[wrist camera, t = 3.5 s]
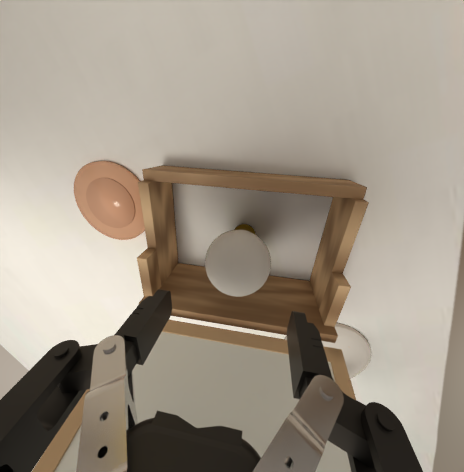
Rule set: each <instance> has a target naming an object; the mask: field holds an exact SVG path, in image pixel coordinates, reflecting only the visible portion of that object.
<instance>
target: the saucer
mask: <svg viewBox="0 0 464 472" xmlns="http://www.w3.org/2000/svg"><path fill="white" fill-rule="evenodd" d="M138 182H140V181H139V179H138V178H137V177H136V176H135V175H134V174H133V173H132V172H130V171H129V170H128V169H126V168H124V167H123V166H121V165H119V164H116V163H113V162H108V161H98V162H92V163H89V164H87V165H85V166H84V167H82V168H81V169H80V171H79V172H78V174H77V176H76V178H75V182H74V195H75V199H76V202H77V205H78V207H79V209H80V211H81V213H82V215H83V216H84V217H85V219H86V220H87V221H88V222H89V223H90V224H91V225H92V226H93V227H94V228H95V229H96V230H98V231H99V232H101V233H102V234H104V235H106V236H108V237H111V238H114V239H119V240H127V239H132V238H135V237H137V236H138V235H140V234H141V233H142V232H144V231H145V226H144V219H143V213H142V206H141V200H140V193H139V187H138Z"/></svg>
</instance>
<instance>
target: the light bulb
mask: <svg viewBox="0 0 464 472" xmlns="http://www.w3.org/2000/svg"><path fill="white" fill-rule="evenodd" d="M205 268H206V272H207V276H208V278H209V280H210V281H211V283H212V284H213V285H214V286H215V288H217V289H218V290H219V291H221V292H222V293H224V294H227V295H230V296H236V297H241V296H247V295H250V294H252V293H254V292H256V291H257V290H259V289H260V288H261V287H262V286H263V285H264V283H265V282H266V280H267V278H268V276H269V273H270V270H271V258H270V253H269V250H268V248H267V247H266V245H265V243H264V242H263V241H262V240H261V239H260V238H259V237H258V236H256V235H255V231H254V229H253V228H252V227H251V226H249V225H247V224H241V225H239V226H237V227H236V228H235V230H232V231H228V232H225V233H223V234H221V235H220V236H218V237H217V238H216V239H215V240H214V241H213V242H212V244H211V245H210V247H209V249H208V251H207V254H206V258H205Z"/></svg>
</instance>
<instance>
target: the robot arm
mask: <svg viewBox="0 0 464 472" xmlns="http://www.w3.org/2000/svg"><path fill="white" fill-rule="evenodd" d="M171 313H172V300H171V292H170V291H167V290H161V289H158V290H157V291H156V293H155V294H154V295H153V296H148V297H147V298H145V299H144V300H142V301H141V303H140V304H139V305H138V306H137V308H136V309H135V310H134V311H133V313H132V314H131V315H130V316H129V318H128V319H127V320H126V321H125V323H124V324H123V325H122V326H121V328H120V329H119V330H118V331H117V333H116V334H115V335H114V336H110V337H107V338H105V339H104V340H102V341H101V342H100V343H99V344H96V345H89V346H81V347H80V346H79V344H78V342H77V341H75V340H68V341H64V342H61V343H59V344H57V345H56V346H54V347H53V348H52V349H50V350H49V351H48V352H47V353H46V354H45V355H44V356H43V357H42V358H41V359H40V360H39V361H38V362H37V363H36V364H35V365H34V367H33V368H32V369H31V370H30V371H29V372H28V373H27V374H26V375H25V376H24V377H23V378H22V379H21V380H20V381H19V382H18V383H17V384H16V385H15V386H14V387H13V388H12V389H11V390H10V391H9V392H8V393H7V394H6V395H5V396H4V397H3V398H2V399H1V400H0V472H31V471H32V469H33V468H34V466H35V465H36V463H37V462H38V461H39V459H40V457H41V456H42V455H43V453H44V452H45V450H46V449H47V447H48V446H49V444H50V443H51V441H52V440H53V438H54V437H55V435H56V434H57V433H58V431H59V430H60V428H61V427H62V425H63V424H64V422H65V421H66V419H67V418H68V416H69V415H70V413H71V412H72V410H73V409H74V407H75V406H76V405H77V403H78V402H79V400H80V399H81V397H82V396H83V394H84V393H85V391H86V390H88V389H90V391H88V392H87V393H86V395H85V400H84V408H83V416H82V425H81V434H80V442H79V451H78V459H77V468H76V472H315V471H316V469H317V466H318V464H319V462H320V459H321V457H322V455H323V452H324V449H325V445H326V443H327V440H328V441H329V442H331V443H333V444H334V445H336V446H337V447H339V448H340V449H342V450H343V451H345V452H347V455H348V459H349V464H350V468H351V472H423V471H422V468H421V466H420V464H419V462H418V459H417V457H416V455H415V453H414V450H413V448H412V446H411V443H410V441H409V439H408V437H407V434H406V432H405V430H404V428H403V426H402V424H401V422H400V421H399V419H398V418H397V417H396V416H395V414H394V413H393V412H391V411H390V410H389V409H388V408H387V407H385V406H383V405H381V404H379V403H375V402H371V403H369V404H367V406H366V405H364V404H362V403H360V402H358V401H356V400H354V399H353V398H351V397H349V396H347V395H346V394H345V393H343V392H342V391H341V389H340V387H339V386H338V385H337V384H336V383H335V382H334V380H333V378H332V375H331V371H330V368H329V364H328V361H327V357H326V354H325V350H324V348H323V343H322V341H321V336H320V333H319V331H318V329H317V328H316V326H315V325H314V323H308V322H307V319H306V315H305V313H303V312H296V311H292V312H291V316H290V320H289V323H288V327H287V344H288V353H289V362H290V371H291V380H292V389H293V398H296V399H300V400H299V402H298V403H297V405H296V406H295V408H294V410H293V411H292V412H291V413H290V414H289V415H288V416H287V418H286V419H285V421H284V423H283V424H282V426H281V427H280V429H279V431H278V432H277V434H276V435H275V437H274V438H273V440H272V442H271V443H270V445H269V446H268V448H267V450H266V451H265V453H264V454H263V456H262V458H261V457H260V456H259V454H258V453H257V451H256V450H255V449H254V448H253V447H252V446H251V445H250V444H249V443H248V442H247V441H245V440H244V439H242V431H241V430H237V429H233V428H229V427H224V426H213V427H204V428H196V427H194V426H193V425H191V424H190V423H188V422H187V421H185V420H184V419H182V418H181V417H179V416H178V415H174V414H170V413H165V412H161V411H157V412H156V415H155V417H154V418H150V419H147V420H144V421H142V422H140V423H138V420H137V414H136V407H135V395H134V382H133V371H132V370H133V369H134V367H135V365H136V364H139V365H143V364H144V362H145V361H146V359H147V357H148V355H149V354H150V352H151V350H152V348H153V346H154V345H155V343H156V341H157V339H158V337H159V336H160V334H161V332H162V330H163V329H164V327H165V325H166V323H167V321H168V320H169V318H170V316H171Z"/></svg>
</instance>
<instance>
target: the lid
mask: <svg viewBox="0 0 464 472" xmlns="http://www.w3.org/2000/svg"><path fill="white" fill-rule="evenodd" d="M323 348H324V350H325V354H326V357H327V361H328V364H329V368H330V371H331V375H332V378H333V380H334V382H335V383H336V384H337V385H338V386H339V387H340V389H341V391H342V392H343V393H345V394H346V395H347V396H349V397H351V398H353V399H354V400H356V398H355V394H354V391H353V387H352V384H351V380H350V377H349V373H348V370H347V366H346V363H345V359H344V356H343V352H342V349H336V348H331V347H325V346H323ZM132 371H133V382H134V395H135V407H136V414H137V420H138V423H140V422H142V421H144V420H147V419H150V418H154V417H155V415H156V412H157V411H161V412H165V413H170V414H174V415H178V416H179V417H181V418H182V419H184V420H185V421H187V422H188V423H190V424H191V425H193V426H194V427H196V428H204V427H213V426H224V427H229V428H233V429H237V430H241V431H242V439H244V440H245V441H247V442H248V443H249V444H250V445H251V446H252V447H253V448H254V449H255V450H256V451H257V453H258V454H259V456H260V457H261V458H262V456H263V454H264V453H265V451H266V450H267V448H268V446H269V445H270V443H271V442H272V440H273V438H274V437H275V435H276V434H277V432H278V431H279V429H280V427H281V426H282V424H283V423H284V421H285V419H286V418H287V416H288V415H289V414H290V413H291V412H292V411H293V410H294V408H295V406H296V405H297V403H298V402H299V400H300V399H296V398H293V389H292V380H291V371H290V362H289V353H288V344H287V340H284V339H278V338H272V337H267V336H261V335H255V334H249V333H243V332H237V331H232V330H226V329H220V328H214V327H208V326H202V325H197V324H191V323H185V322H179V321H173V320H168V321H167V323H166V325H165V327H164V329H163V330H162V332H161V334H160V336H159V337H158V339H157V341H156V343H155V345H154V346H153V348H152V350H151V352H150V354H149V355H148V357H147V359H146V361H145V362H144V364H143V365H139V364H136V365H135V367H134V369H133V370H132ZM88 391H90V389H88V390H86V391H85V393H84V394H83V396H82V397H81V399H80V400H79V402H78V403H77V405H76V406H75V407H74V409H73V410H72V412H71V413H70V415H69V416H68V418H67V419H66V421H65V422H64V424H63V425H62V427H61V428H60V430H59V431H58V433H57V434H56V435H55V437H54V438H53V440H52V441H51V443H50V444H49V446H48V447H47V449H46V451H45V452H44V454H43V455H42V457H41V458H40V460H39V462H38V463H37V465H36V466H35V468H34V469H33V471H32V472H76V468H77V459H78V451H79V442H80V434H81V425H82V416H83V408H84V400H85V395H86V393H87V392H88ZM315 472H351V468H350V464H349V459H348V455H347V452H345V451H343V450H342V449H340V448H339V447H337V446H336V445H334V444H333V443H331V442H329V441H328V440H327V443H326V445H325V449H324V452H323V455H322V457H321V459H320V462H319V464H318V466H317V469H316V471H315Z"/></svg>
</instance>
